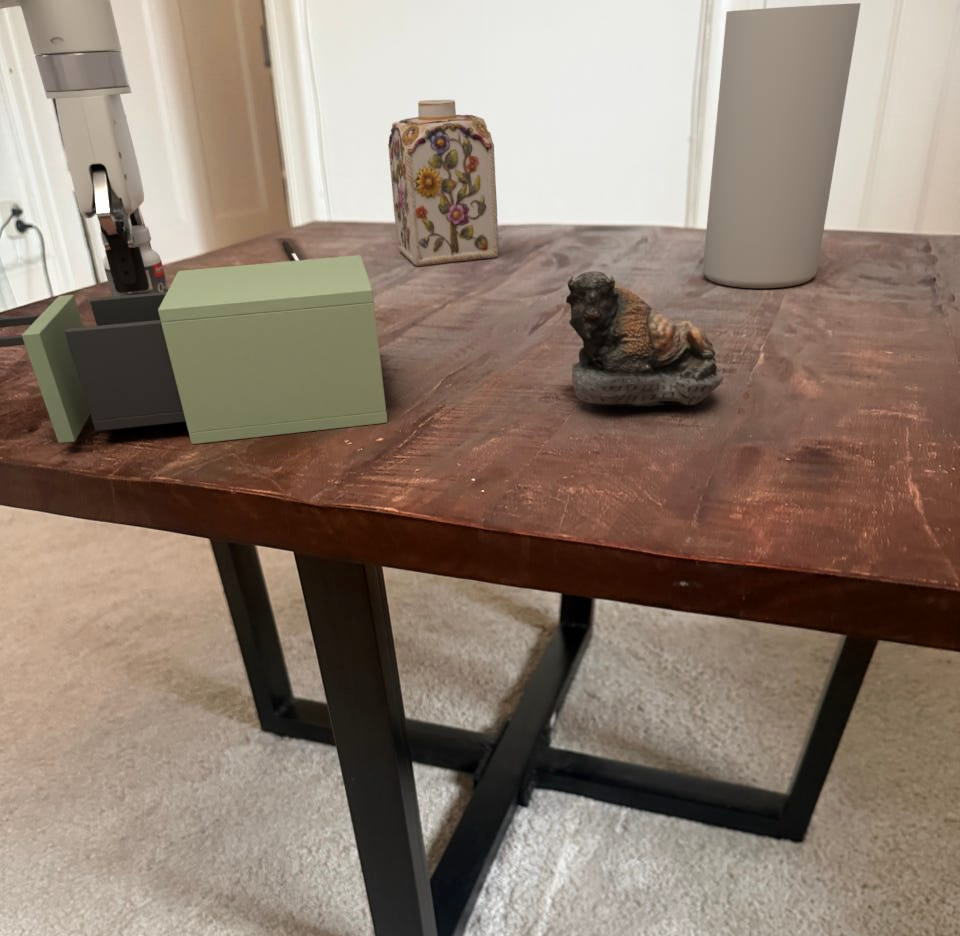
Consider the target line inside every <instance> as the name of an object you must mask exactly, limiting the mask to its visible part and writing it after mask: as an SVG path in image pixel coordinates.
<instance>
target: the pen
mask: <svg viewBox="0 0 960 936" xmlns="http://www.w3.org/2000/svg"><path fill="white" fill-rule="evenodd" d="M281 245H282V247H283V249H284V250H285V252H286V254H287V256H288V257H289V259H290V261H298V260H300V259H299V258H298V256H297V254H296V253H295V251H294V250H293V249H292V247H291V245H290V244H289V242H288V241H286V240H284V241H283V242H282V243H281Z"/></svg>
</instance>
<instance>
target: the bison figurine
mask: <svg viewBox="0 0 960 936" xmlns="http://www.w3.org/2000/svg"><path fill="white" fill-rule="evenodd" d="M567 287H568V290H569V294H568V295H567V296H566V300H565V303H566V304H569V305H570V319H569V321H568V323H569V325H570V326H571V327H572V328H573V330H574V331H575V332H576V334H577V335H578V336H579V338H581V341H582V346H583V347H581V348H580V350H579V352H578V360H579V362H574V363H573V364H572V365H571V381H572V385H573V390H574V395H575V396H576V398H577V399H578V400H579V401H581V402H584V403H586V404H590V405H596V406H614V407H615V406H616V407H617V406H618V407H637V408H638V407H641V408H642V407H663V406H667V407H668V406H694V405H697V404H698V403H700V402H702V401H703V400H704V399H706V398H707V397H708V396H709V395H711V394H712V393H713V392H715V390H716V389H717V388H718V387H719V386H720V384H722V382H723V380H724V376H723V374H722V373H721V372H719V371H718V370H717V369H718V366H717V364H716V362H717V361H716V358H715V355H716V351H715V349H714V347H713V342H712V341H711V340H709V337H708V335H707V334H706V332H705V330H703V329H701V328H699V327H697V326H695V325H694V324H693V322H691V321H689V320H683V321H676V320H675V321H674V320H671V319H670V318H668V317H667V316H666V315H665V314H662V313H661V312H660V311H658V310H656V309H654V308H653V307H652V306H651V305H649V304H648V303H647V302H646V301H645V300H644V299H642V298H641V297H640V296H638V295H637V294H636V293H634V292H632V291H631V290H629V289H626V288H623V287H622V286H619V285H616V280H615V278H614V276H613V274H610V278H609V277H608V276H607V275H606V274H605V273H604V272H602V271H595V270H591V271H585V272H582V273H581V274H579V275H578V276H577V277H575V278H574V275H570V276H569V278H568V279H567Z"/></svg>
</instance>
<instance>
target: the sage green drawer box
mask: <svg viewBox="0 0 960 936" xmlns="http://www.w3.org/2000/svg"><path fill="white" fill-rule="evenodd" d="M174 276H175V277H174V279H173V280H172V282H171V284H170V285H169V288H168V292H167V294H166V295H165V297H164V299H163V301H162V303H161V305H160V307H159V309H158V312H159V316H160V320H161V322H162V323H161V324H162V328H163V332H164V336H165V340H166V344H167V348H168V352H169V356H170V360H171V364H172V368H173V372H174V376H175V380H176V384H177V388H178V392H179V396H180V400H181V404H182V408H183V412H184V416H185V420H186V422H185V423H186V427H187V432H188V435H189V440H190V444H191V445H199V444H208V443H215V442H216V443H217V442H225V441H233V440H243V439H245V440H246V439H252V438H261V437H271V436H280V435H281V436H282V435H289V434H299V433H308V432H315V431H316V432H317V431H324V430H333V429H343V428H352V427H363V426H369V425H370V426H371V425H379V424H380V425H381V424H387V423H388V414H387V405H386V397H385V395H386V394H385V387H384V380H383V378H384V377H383V371H382V362H381V360H382V359H381V354H380V353H381V352H380V344H379V343H380V342H379V334H378V326H377V316H376V310H375V300H374V291H373V288H372V285H371V282H370V278H369V275H368V272H367V269H366V266H365V263H364V260H363V257H362V255H361V254H356V255H345V256H333V257H322V258H311V259H301V260H300V259H299V260H298V261H292V260H288V261H287V260H286V261H278V262H266V263H254V264H243V265H233V266H219V267H209V268H197V269H185V270H184V269H183V270H178V271H177V273H176V275H174Z"/></svg>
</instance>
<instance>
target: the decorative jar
mask: <svg viewBox="0 0 960 936" xmlns="http://www.w3.org/2000/svg"><path fill="white" fill-rule="evenodd" d="M417 104H418V105H417V109H418V111H417V113H418V116H417V117H416V116H415V117H410V118H405V119H401V120H399V121H396V122H395V121H394V122H393V123H392V125H391V128H390V135H389V137H388V144H387V146H388V157H389V170H390V180H391V181H390V182H391V191H392V203H393V215H394V222H395V224H394V225H395V231H396V232H395V233H396V240H397V241H396V243H397V247H398V251H399V252H400V253H401V254H402V256H404V257H405V258H406V259H407V260H409V261H410V262H412V264H413V265H414V266H415V267H422V266H423V267H424V266H432V265H441V264H449V263H458V262H459V263H460V262H467V261H476V260H485V259H494V258H495V259H496V258H498V256H499V227H498V226H499V225H498V201H497V200H498V199H497V198H498V197H497V183H496V163H495V162H496V161H495V159H496V158H495V144H494V141H493V138H492V135H491V132H490V131H489V129H488V127H487V124H486V122H485V119H484V118H482V117H480V116H477V115H473V114H457V112H456V101H455V100H454V99H425V100H419V101H418V103H417Z"/></svg>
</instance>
